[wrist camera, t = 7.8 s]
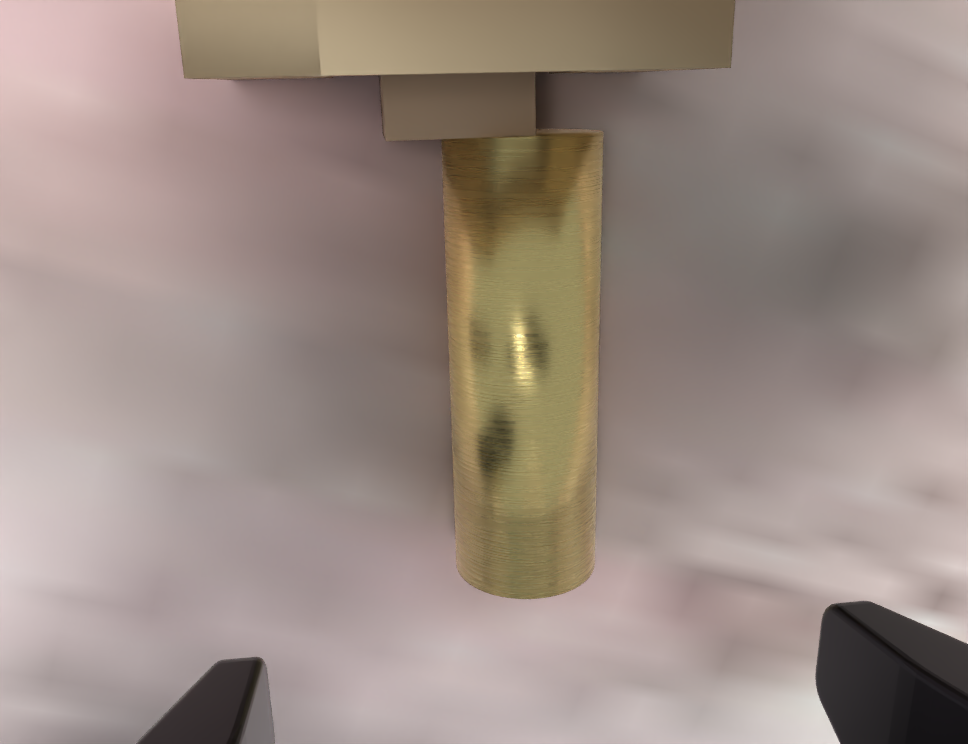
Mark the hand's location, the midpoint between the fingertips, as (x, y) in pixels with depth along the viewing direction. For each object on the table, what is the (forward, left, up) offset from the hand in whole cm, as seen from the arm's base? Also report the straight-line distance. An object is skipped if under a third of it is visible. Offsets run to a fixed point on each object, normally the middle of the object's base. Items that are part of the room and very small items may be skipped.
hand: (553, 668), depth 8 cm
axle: (0, 0, -11) cm, 11 cm away
